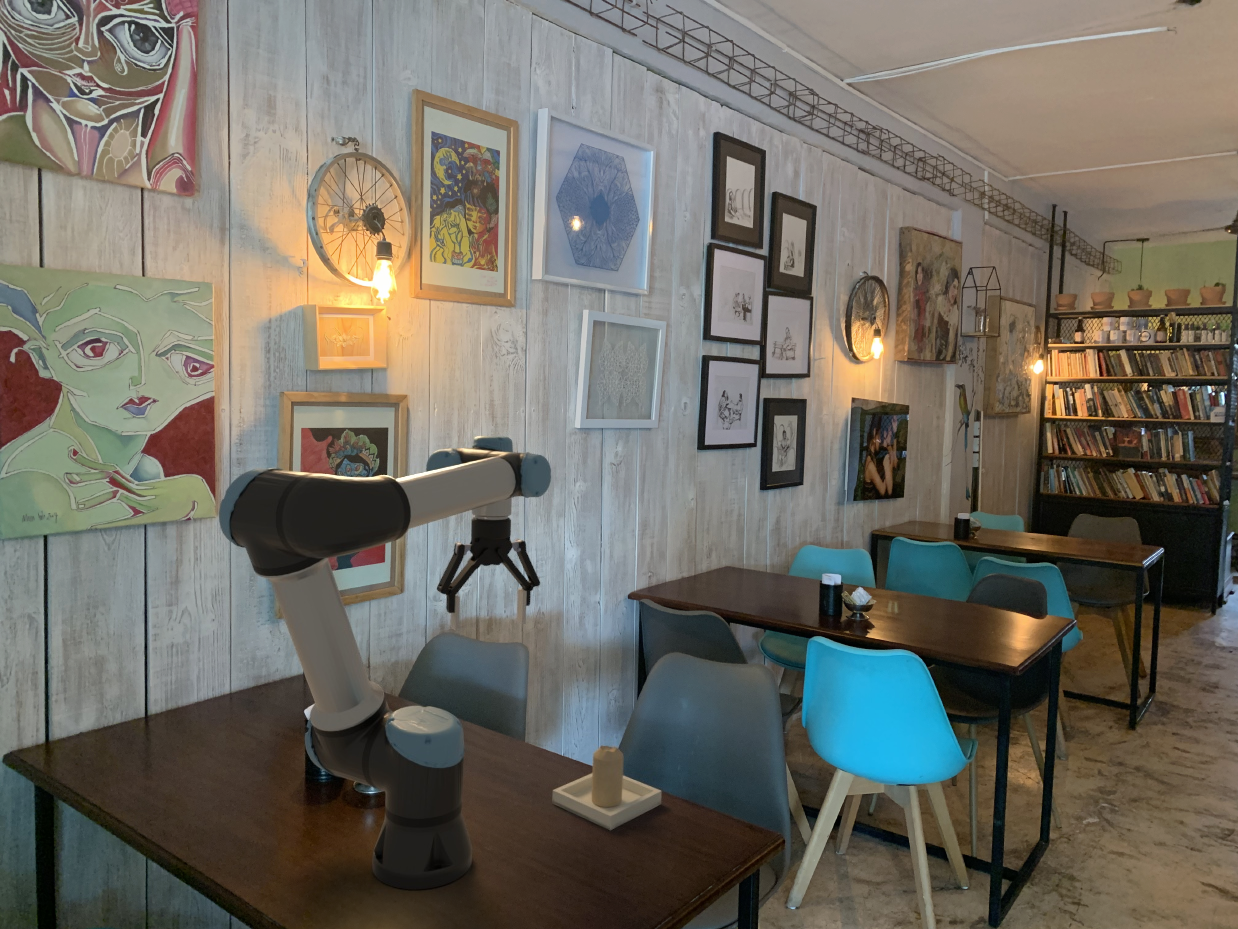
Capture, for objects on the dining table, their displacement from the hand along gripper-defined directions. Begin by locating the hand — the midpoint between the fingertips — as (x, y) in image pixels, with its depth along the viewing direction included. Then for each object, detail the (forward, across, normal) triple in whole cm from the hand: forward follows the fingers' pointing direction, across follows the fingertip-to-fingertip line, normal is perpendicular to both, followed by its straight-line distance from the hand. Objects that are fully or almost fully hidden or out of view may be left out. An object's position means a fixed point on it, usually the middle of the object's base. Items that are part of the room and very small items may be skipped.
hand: (488, 626), depth 170 cm
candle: (+28, -15, +23) cm, 39 cm away
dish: (+29, -15, +23) cm, 39 cm away
